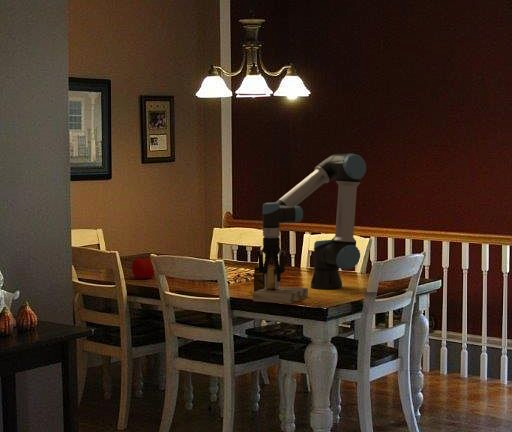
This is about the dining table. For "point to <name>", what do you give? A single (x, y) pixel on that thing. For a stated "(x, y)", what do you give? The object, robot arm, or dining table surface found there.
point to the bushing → (271, 279)
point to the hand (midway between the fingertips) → (271, 288)
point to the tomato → (142, 268)
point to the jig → (280, 295)
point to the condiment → (258, 280)
